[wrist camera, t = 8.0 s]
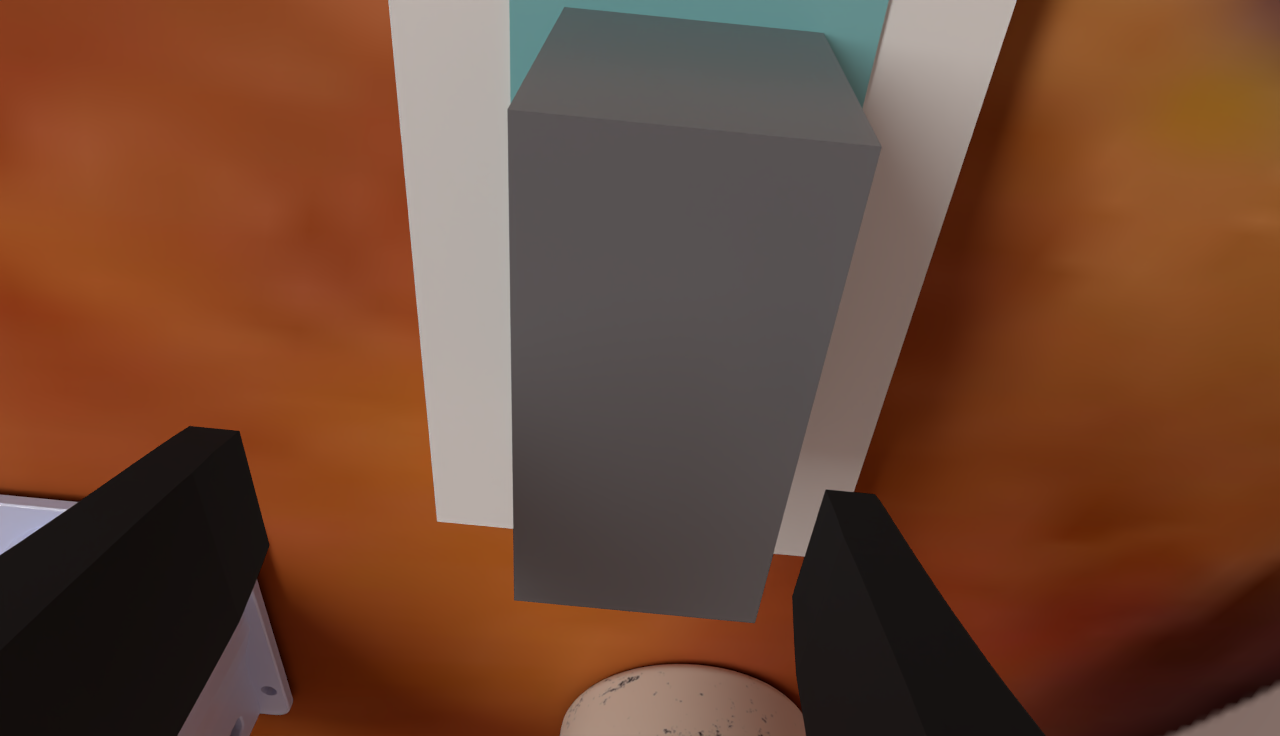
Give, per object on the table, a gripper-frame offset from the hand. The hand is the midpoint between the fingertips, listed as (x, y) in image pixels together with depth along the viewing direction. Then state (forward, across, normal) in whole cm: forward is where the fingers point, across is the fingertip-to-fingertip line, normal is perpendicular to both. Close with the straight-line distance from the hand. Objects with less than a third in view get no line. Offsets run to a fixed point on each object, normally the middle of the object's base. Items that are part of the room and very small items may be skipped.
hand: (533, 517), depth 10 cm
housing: (+7, -2, 0) cm, 7 cm away
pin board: (+8, -2, 0) cm, 9 cm away
